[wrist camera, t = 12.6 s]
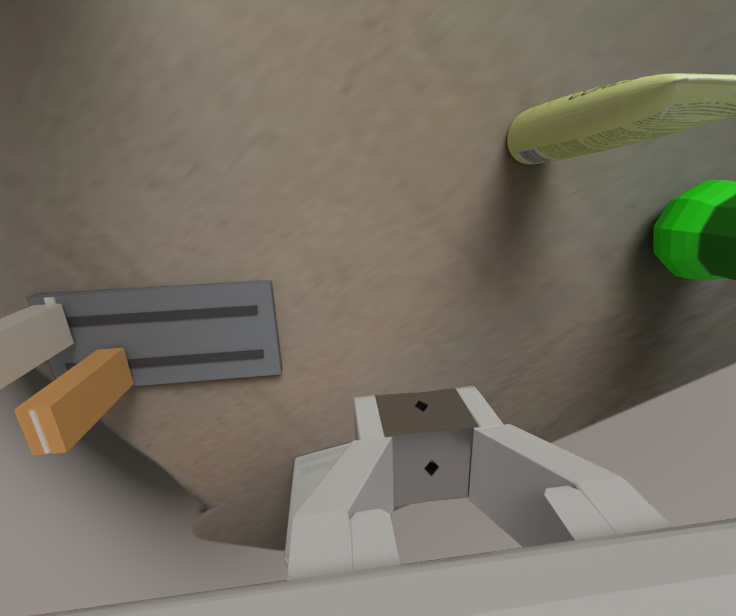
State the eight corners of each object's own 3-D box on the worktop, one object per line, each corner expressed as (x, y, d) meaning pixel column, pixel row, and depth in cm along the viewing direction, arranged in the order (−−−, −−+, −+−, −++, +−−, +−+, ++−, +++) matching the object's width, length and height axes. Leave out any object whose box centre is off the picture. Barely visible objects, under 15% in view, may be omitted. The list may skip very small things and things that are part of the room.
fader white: (46, 345, 35) (-61, 406, 25) (33, 305, 33) (-86, 353, 24) (73, 343, 35) (-23, 403, 25) (61, 303, 33) (-46, 351, 24)
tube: (543, 90, 34) (802, -23, 15) (570, 136, 35) (834, 82, 17) (494, 134, 35) (686, 77, 16) (523, 177, 36) (727, 169, 18)
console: (67, 385, 38) (58, 393, 37) (36, 293, 35) (24, 298, 33) (282, 368, 40) (280, 375, 39) (271, 280, 37) (269, 283, 35)
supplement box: (293, 456, 44) (281, 558, 32) (353, 440, 44) (363, 535, 32) (310, 501, 46) (305, 611, 34) (367, 486, 46) (381, 590, 34)
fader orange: (108, 385, 36) (30, 457, 27) (97, 349, 35) (11, 410, 26) (133, 383, 37) (65, 453, 27) (123, 347, 35) (48, 407, 26)
